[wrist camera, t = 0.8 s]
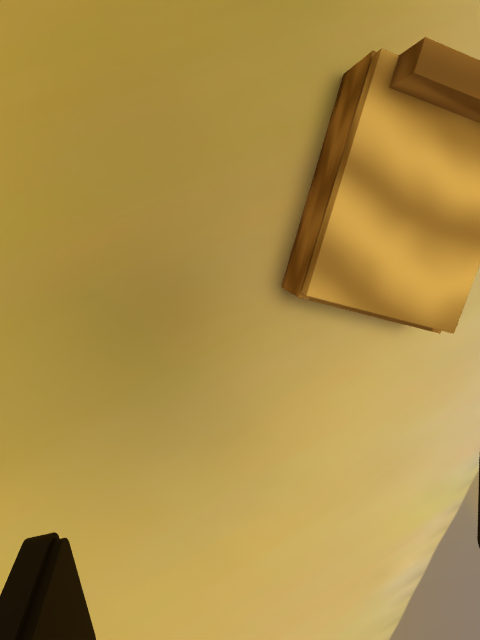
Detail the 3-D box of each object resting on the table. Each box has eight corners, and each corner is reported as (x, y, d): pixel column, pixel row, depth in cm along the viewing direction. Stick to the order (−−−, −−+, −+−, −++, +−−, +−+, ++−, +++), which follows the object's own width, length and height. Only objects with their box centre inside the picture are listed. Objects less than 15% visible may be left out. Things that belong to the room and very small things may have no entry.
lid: (372, 55, 29) (406, 28, 25) (522, 116, 32) (574, 101, 28) (301, 292, 32) (320, 303, 28) (444, 329, 35) (480, 344, 31)
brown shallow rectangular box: (343, 74, 34) (372, 50, 30) (475, 125, 37) (521, 111, 32) (281, 287, 37) (298, 297, 33) (407, 319, 40) (440, 333, 35)
